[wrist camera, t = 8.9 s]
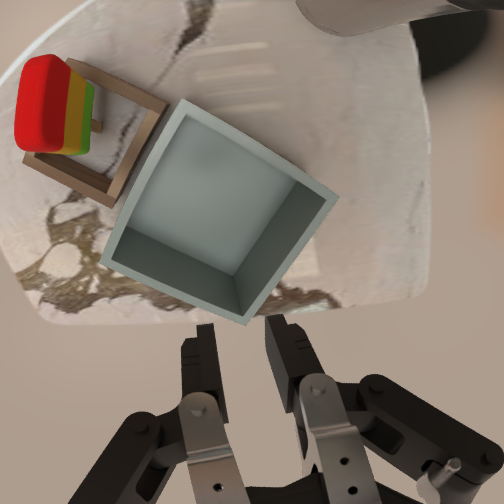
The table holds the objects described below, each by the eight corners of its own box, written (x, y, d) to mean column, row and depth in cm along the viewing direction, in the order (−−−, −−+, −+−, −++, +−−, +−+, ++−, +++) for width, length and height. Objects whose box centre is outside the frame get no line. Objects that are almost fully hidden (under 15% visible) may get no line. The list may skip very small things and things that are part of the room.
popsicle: (22, 52, 10) (51, 45, 11) (93, 101, 24) (112, 100, 25) (8, 152, 12) (38, 148, 12) (89, 158, 26) (108, 157, 26)
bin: (185, 99, 26) (182, 98, 19) (306, 173, 31) (339, 196, 24) (118, 225, 30) (98, 262, 23) (234, 279, 35) (245, 325, 28)
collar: (82, 62, 22) (67, 57, 18) (170, 104, 26) (166, 104, 22) (40, 154, 25) (22, 162, 21) (121, 195, 29) (111, 208, 25)
